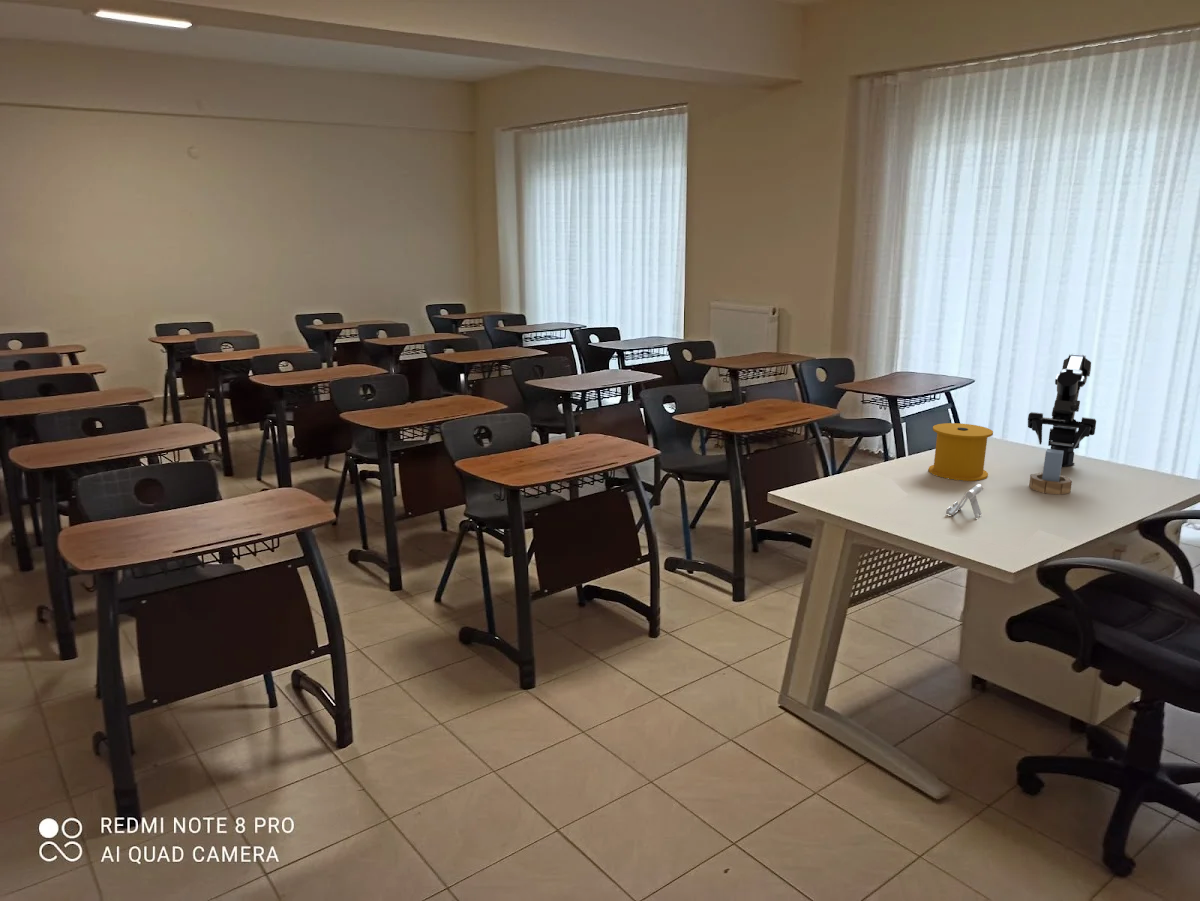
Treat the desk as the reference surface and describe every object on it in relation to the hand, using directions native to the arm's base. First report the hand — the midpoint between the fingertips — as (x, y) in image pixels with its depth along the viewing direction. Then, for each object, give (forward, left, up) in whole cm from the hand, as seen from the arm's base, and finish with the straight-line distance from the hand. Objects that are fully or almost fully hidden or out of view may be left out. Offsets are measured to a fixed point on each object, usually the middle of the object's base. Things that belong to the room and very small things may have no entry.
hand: (1056, 445), depth 262 cm
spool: (-22, -17, -13) cm, 30 cm away
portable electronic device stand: (+8, -49, -13) cm, 51 cm away
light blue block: (+3, -6, -12) cm, 14 cm away
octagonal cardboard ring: (+3, -6, -12) cm, 14 cm away
